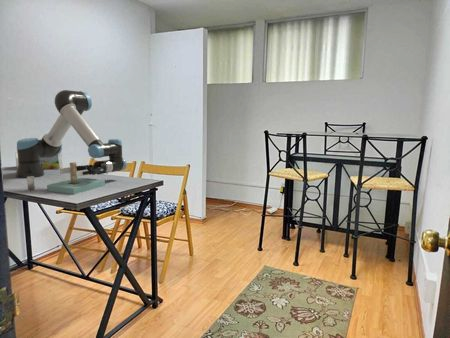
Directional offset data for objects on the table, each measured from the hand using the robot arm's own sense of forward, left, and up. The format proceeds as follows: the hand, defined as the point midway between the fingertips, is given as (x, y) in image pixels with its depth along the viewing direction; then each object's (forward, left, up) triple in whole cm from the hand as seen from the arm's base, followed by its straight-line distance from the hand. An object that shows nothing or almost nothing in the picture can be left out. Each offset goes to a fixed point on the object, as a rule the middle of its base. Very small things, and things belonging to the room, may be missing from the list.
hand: (68, 172), depth 166 cm
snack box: (-66, +42, -9) cm, 79 cm away
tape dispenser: (-82, +43, -10) cm, 93 cm away
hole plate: (0, +5, -9) cm, 10 cm away
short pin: (-18, -8, -9) cm, 21 cm away
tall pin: (0, +3, -9) cm, 10 cm away
